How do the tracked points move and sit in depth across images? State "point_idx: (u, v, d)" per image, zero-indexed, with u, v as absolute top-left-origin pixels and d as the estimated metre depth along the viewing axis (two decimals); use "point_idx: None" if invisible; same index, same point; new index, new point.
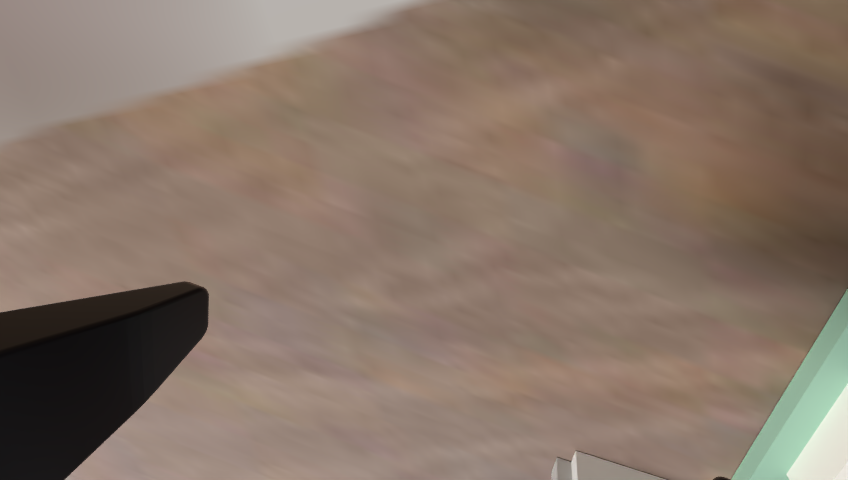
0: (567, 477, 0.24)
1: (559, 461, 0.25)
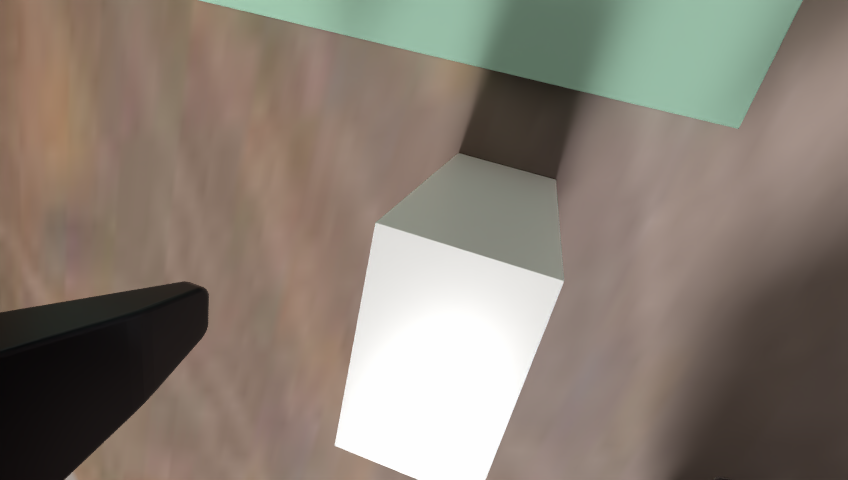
0: None
1: None
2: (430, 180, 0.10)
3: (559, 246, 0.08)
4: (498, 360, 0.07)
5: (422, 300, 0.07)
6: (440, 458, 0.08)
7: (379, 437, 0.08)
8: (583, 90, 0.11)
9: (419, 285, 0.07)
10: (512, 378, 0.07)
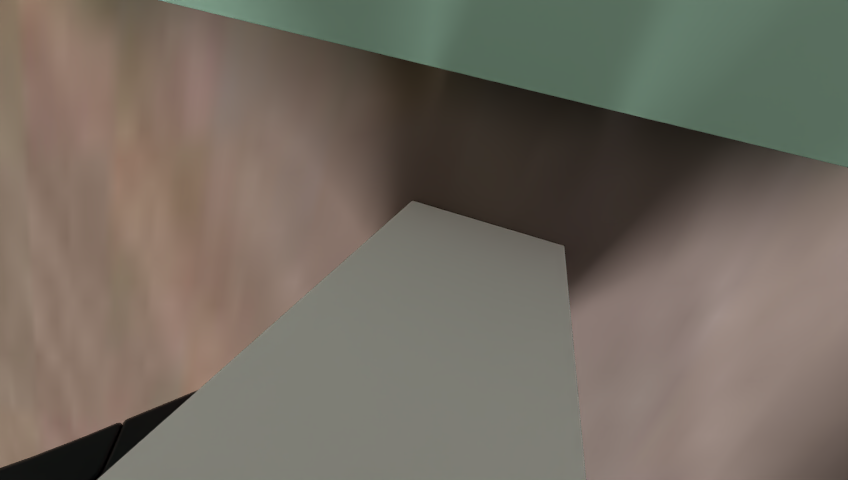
0: None
1: None
2: (326, 284, 0.05)
3: None
4: None
5: None
6: None
7: None
8: (616, 108, 0.06)
9: None
10: None
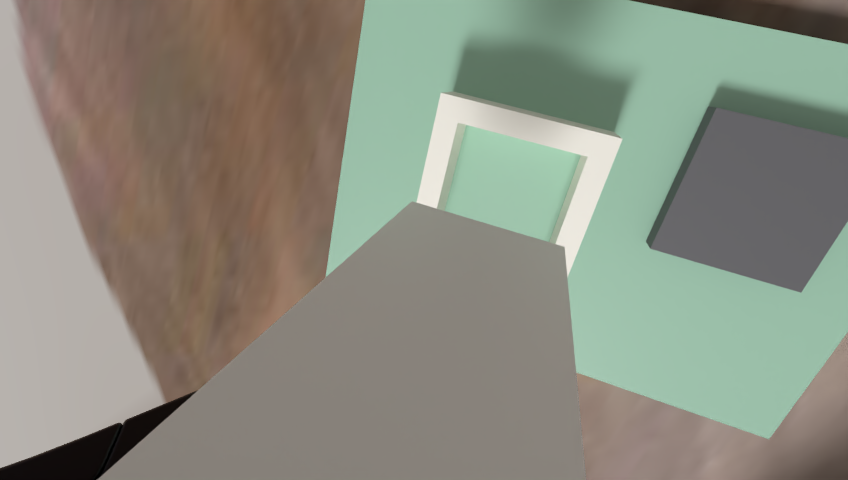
0: None
1: None
2: (324, 286, 0.05)
3: None
4: None
5: None
6: None
7: None
8: (675, 406, 0.18)
9: None
10: None
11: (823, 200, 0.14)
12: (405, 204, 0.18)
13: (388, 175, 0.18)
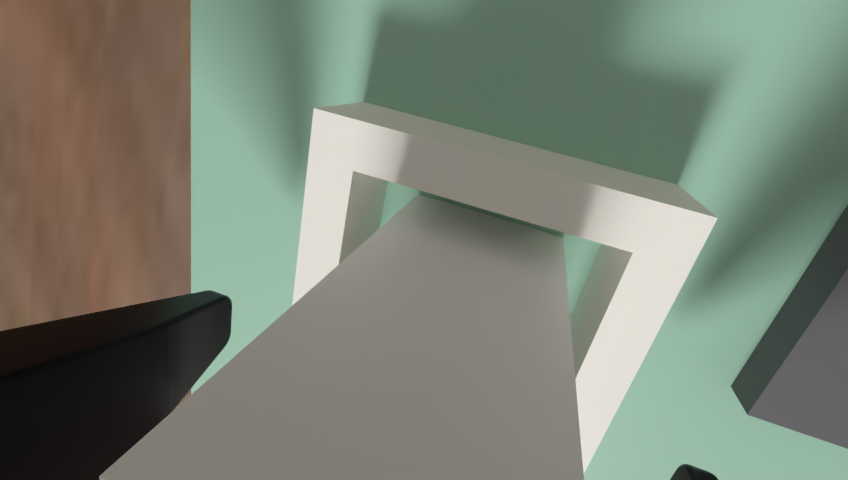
0: None
1: None
2: (343, 268, 0.05)
3: (578, 471, 0.03)
4: None
5: None
6: None
7: None
8: None
9: None
10: None
11: None
12: None
13: (266, 247, 0.10)
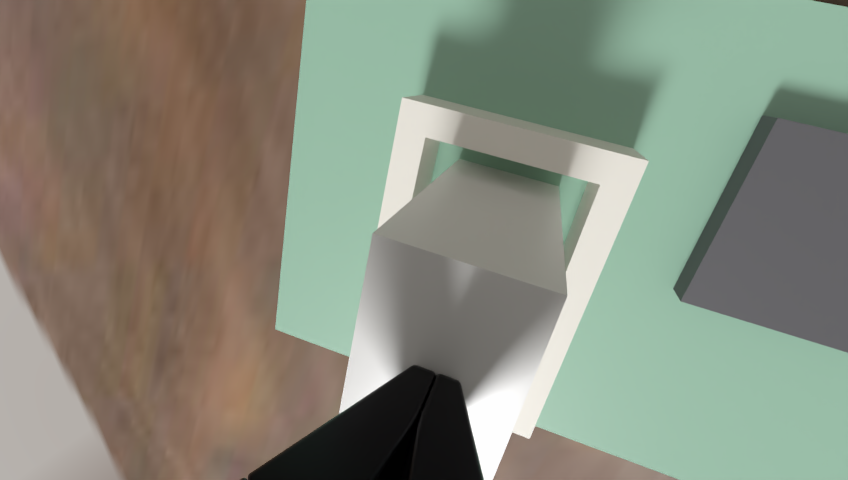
0: None
1: None
2: (430, 187, 0.10)
3: (562, 257, 0.07)
4: (499, 376, 0.07)
5: (420, 313, 0.07)
6: None
7: None
8: None
9: (416, 297, 0.07)
10: (513, 395, 0.07)
11: None
12: (368, 236, 0.15)
13: (345, 200, 0.14)
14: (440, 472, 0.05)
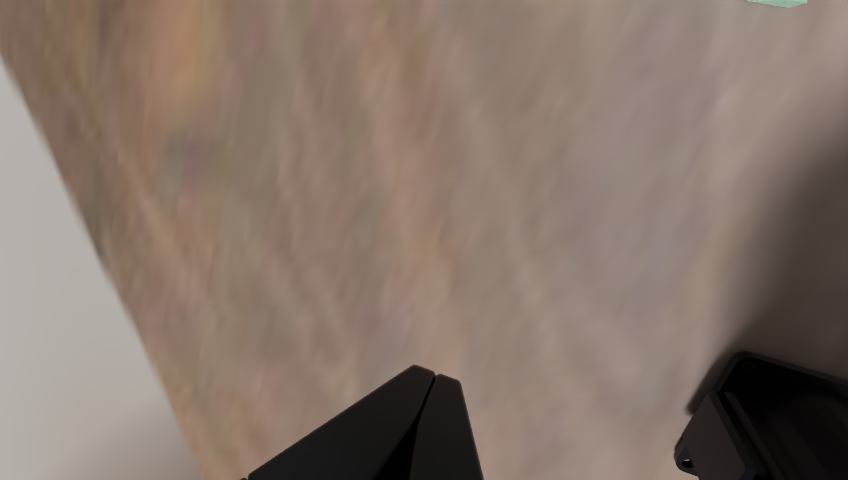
0: None
1: None
2: None
3: None
4: None
5: None
6: None
7: None
8: None
9: None
10: None
11: None
12: None
13: None
14: (440, 472, 0.05)
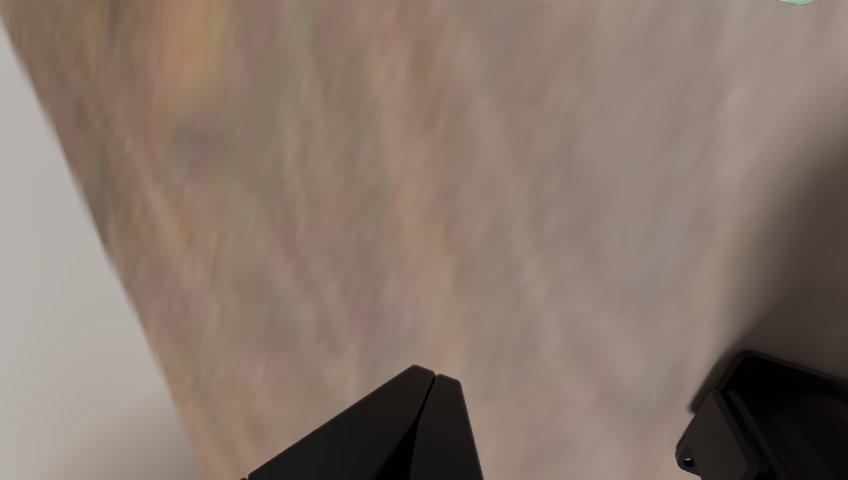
0: None
1: None
2: None
3: None
4: None
5: None
6: None
7: None
8: None
9: None
10: None
11: None
12: None
13: None
14: (440, 472, 0.05)
